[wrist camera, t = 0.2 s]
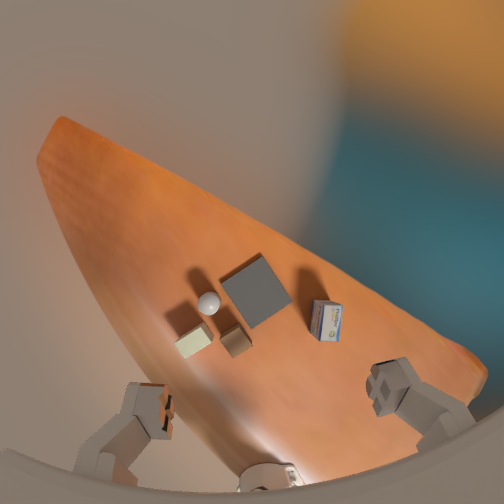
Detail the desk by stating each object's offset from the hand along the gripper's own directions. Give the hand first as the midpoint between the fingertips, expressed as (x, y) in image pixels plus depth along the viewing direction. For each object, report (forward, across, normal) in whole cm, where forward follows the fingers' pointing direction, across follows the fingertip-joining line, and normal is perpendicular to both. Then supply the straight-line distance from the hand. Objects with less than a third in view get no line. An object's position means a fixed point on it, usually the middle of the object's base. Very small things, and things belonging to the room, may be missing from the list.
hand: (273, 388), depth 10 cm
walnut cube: (+42, -2, -35) cm, 55 cm away
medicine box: (+44, +17, -32) cm, 57 cm away
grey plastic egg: (+46, -7, -28) cm, 54 cm away
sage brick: (+43, -11, -35) cm, 56 cm away
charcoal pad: (+47, +3, -26) cm, 54 cm away
